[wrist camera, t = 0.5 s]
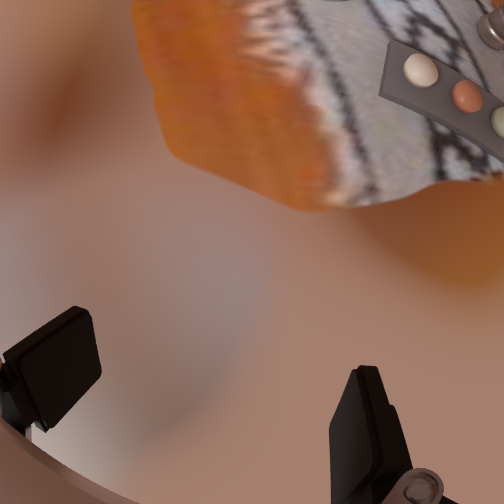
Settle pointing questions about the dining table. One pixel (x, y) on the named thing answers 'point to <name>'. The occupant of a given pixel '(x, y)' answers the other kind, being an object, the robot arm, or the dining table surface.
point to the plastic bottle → (492, 28)
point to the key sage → (498, 121)
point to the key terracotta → (466, 97)
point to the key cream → (420, 71)
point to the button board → (441, 100)
